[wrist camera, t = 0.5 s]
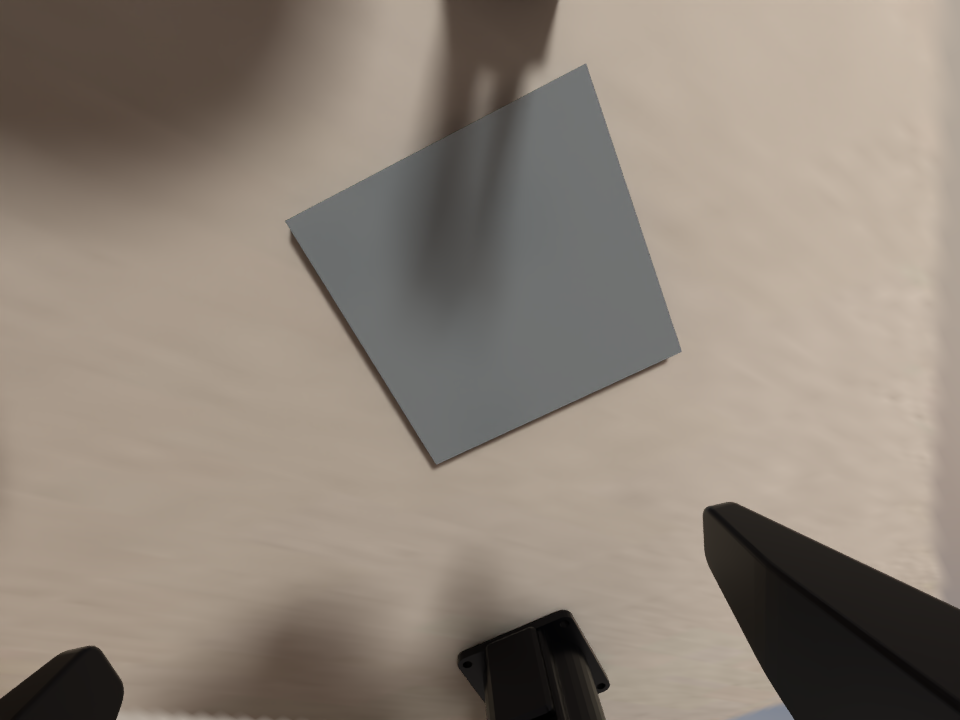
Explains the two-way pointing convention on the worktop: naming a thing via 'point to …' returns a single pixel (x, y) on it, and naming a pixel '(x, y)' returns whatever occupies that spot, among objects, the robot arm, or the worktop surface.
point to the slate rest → (496, 269)
